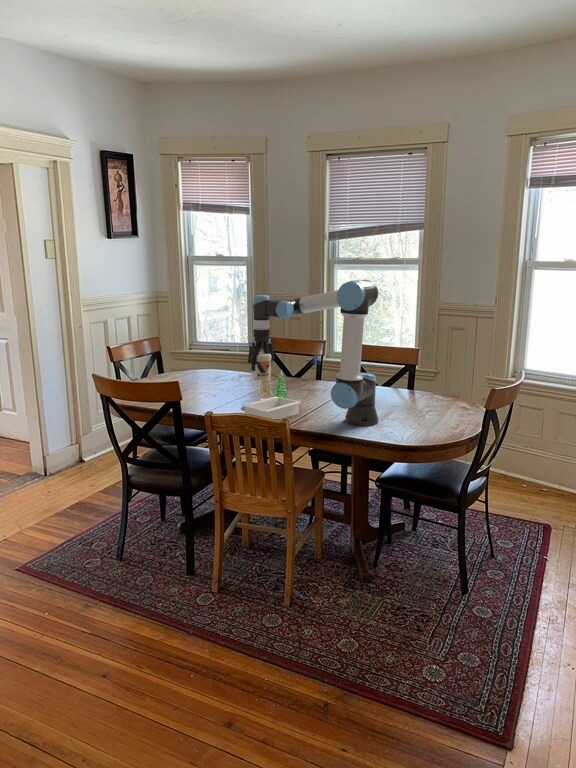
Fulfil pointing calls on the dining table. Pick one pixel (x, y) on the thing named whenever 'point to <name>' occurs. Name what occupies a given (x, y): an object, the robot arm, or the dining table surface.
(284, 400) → the white rectangular tray
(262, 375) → the coffee cup
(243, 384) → the dining table surface
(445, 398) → the dining table surface
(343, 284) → the robot arm
